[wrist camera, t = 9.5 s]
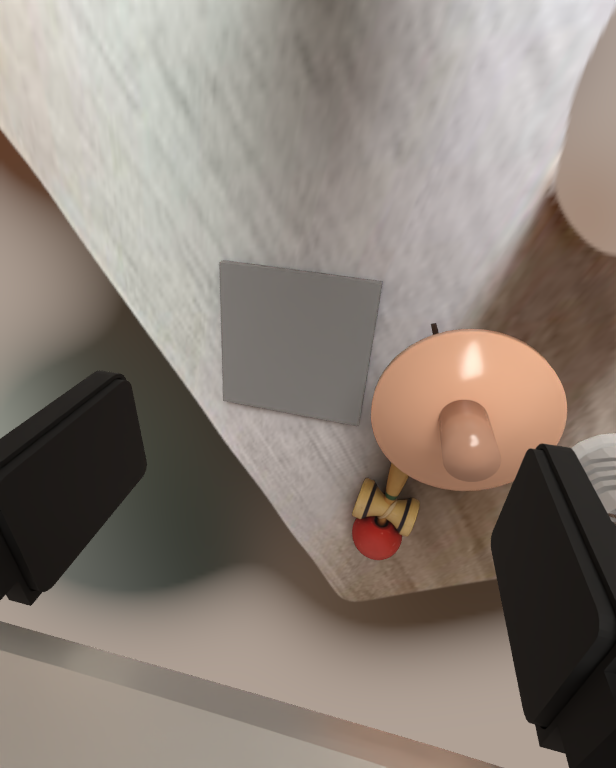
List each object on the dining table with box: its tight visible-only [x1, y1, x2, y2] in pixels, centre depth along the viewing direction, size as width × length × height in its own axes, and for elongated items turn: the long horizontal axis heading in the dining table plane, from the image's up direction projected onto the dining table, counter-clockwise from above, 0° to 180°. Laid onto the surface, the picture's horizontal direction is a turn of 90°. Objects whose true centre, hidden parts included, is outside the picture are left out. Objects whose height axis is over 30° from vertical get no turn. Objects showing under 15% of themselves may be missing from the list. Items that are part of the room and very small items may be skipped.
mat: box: [220, 260, 383, 426], centre depth 43 cm, size 16×16×1 cm
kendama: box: [352, 463, 420, 560], centre depth 47 cm, size 8×6×18 cm
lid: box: [371, 329, 567, 491], centre depth 29 cm, size 14×14×6 cm
